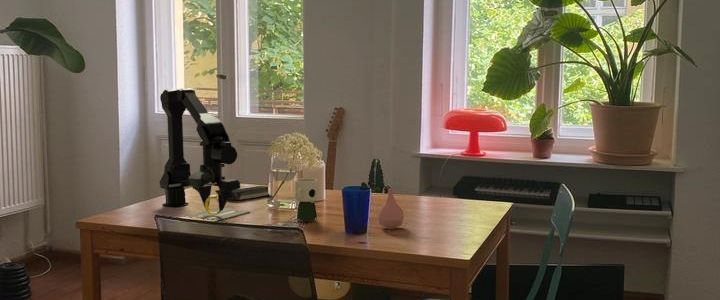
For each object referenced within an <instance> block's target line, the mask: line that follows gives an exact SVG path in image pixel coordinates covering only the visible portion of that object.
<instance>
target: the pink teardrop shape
mask: <svg viewBox="0 0 720 300" xmlns="http://www.w3.org/2000/svg"><path fill="white" fill-rule="evenodd" d="M404 218H405V217H404V210H403V209H402V207H401V206H400V205H399V204H398V203H397V200H396V199H395V197H394V188H393V187H392V188H391V187H390V188H387V198H386V200H385V202H384V204H382V206H381V207H380V208H379V209H378V214H377V220H378V223H379V225H380V226H382V227H384V228H386V229H387V230H395V228H397V227H400V226H402V224H403V221H404Z"/></svg>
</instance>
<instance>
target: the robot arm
mask: <svg viewBox="0 0 720 300" xmlns="http://www.w3.org/2000/svg"><path fill="white" fill-rule="evenodd" d="M159 100H160V103H161V108H162V110H163V112H164V114H165V115H166V116H167V119H166V120H167V139H168V140H167V142H168V159H167V161H166V163H165V165H164V170H163V171H164V172H163V175H162V177H161V178H160V180H159V187H160V189H163V190H164V193H165V202H164V203H162V206H165V207H171V208H177V207H181V206H187V205H189V203H190V202H186V201H187V200H186V191H185V189H186V187H187V188H189V187H191V188H192V189H194V190H195V191H196V192H197V193H198V194H199V197H200V198H201V201H202V203H203V204H202V205H203V206H204V208H205V201H206V199H207V198H208V197H209V196H210V195H212V194H211V193H212V186H214V187H218V189H217V190H214V192H215V193H216V195H217V197H218V200H219V203H218V208H219V209H220V211H222V210H223V209H224V208H225V206H226V204H227V202H228V200H229V199H228V197H229V196H230V194H231V192H232V191H233V190H235V189H241V181H240V180H239V179H234V178H227V179H226V176H224V175H223V168H225V165H232V164H234V163H235V162H236V161H237V158H238V152H237V149H236V148H235V147H234V146H232V142H231V140H230V136H229V134H228V133H227V131H226V129H225V126H224V124H223V123H222V121H221V120H220V119H219V118H218V117H216V116H214V115H212V114H210V113H209V111H208V110H207V109H206V107H205V106H204V104H203V103H202V101H201V100H200V99H199V97H198V96H197V94H196V91H195V89H193V88H192V87H189V88H188V87H187V88H175V89H164V90H163V91H162V93H160V98H159ZM186 110H187V111H188V114H190V116H191V117H192V119H193V120H194V122H195V123H196V130H195V131H196V132H197V134H198V136H199V138H200V139H201V140H202V141H200V143H199V146H200V147H202V162H203V163H202V164H200V166H199V170H198V171H195V172H194V173H192V174H191V164H190V162H187V161H186V160H187V159H185V155H184V154H185V151H184V150H185V149H184V131H183V130H184V126H183V125H184V124H183V115H184V113H185V111H186ZM210 201H211V199H209V202H208V207H209V206H210ZM209 208H210V207H209Z"/></svg>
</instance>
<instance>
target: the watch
mask: <svg viewBox="0 0 720 300" xmlns="http://www.w3.org/2000/svg"><path fill="white" fill-rule="evenodd" d="M209 199H210V200H211V199H215V200H216V201H217V203H218V204H219V200H218V194H210V196H209V197H208V198H207V199H206V201H205V207H204V209H205V211H207V212H208V213H209V214H219V213H220V212H221V211H220V209H219V211H218V212H211V211H210V210H211V209H210V207H208V202H209ZM209 203H210V202H209Z"/></svg>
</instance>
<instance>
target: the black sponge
mask: <svg viewBox="0 0 720 300" xmlns="http://www.w3.org/2000/svg"><path fill="white" fill-rule="evenodd" d="M266 196H269V195H268V186H267V185H265V186H262V185H259V186H256V185H255V186H249V187H243V188H240V189H235V190H233V191H232V192H231V194H230V196H229V197H228V200H234V201H236V200H237V201H241V200H247V199H253V198H259V197H266Z"/></svg>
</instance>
